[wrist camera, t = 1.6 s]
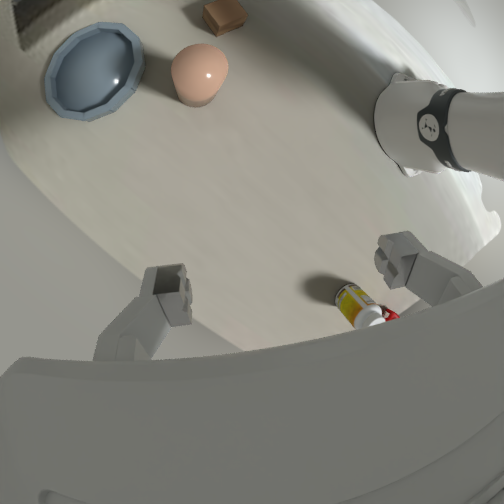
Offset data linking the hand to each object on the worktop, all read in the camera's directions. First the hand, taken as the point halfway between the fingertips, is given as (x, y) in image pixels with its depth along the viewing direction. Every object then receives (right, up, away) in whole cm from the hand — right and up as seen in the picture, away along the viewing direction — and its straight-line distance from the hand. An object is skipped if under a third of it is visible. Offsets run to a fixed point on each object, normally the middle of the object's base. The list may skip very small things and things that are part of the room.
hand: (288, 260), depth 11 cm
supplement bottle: (+16, -8, +38) cm, 42 cm away
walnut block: (-5, +31, +15) cm, 35 cm away
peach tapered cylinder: (-8, +21, +19) cm, 30 cm away
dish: (-22, +24, +14) cm, 36 cm away
